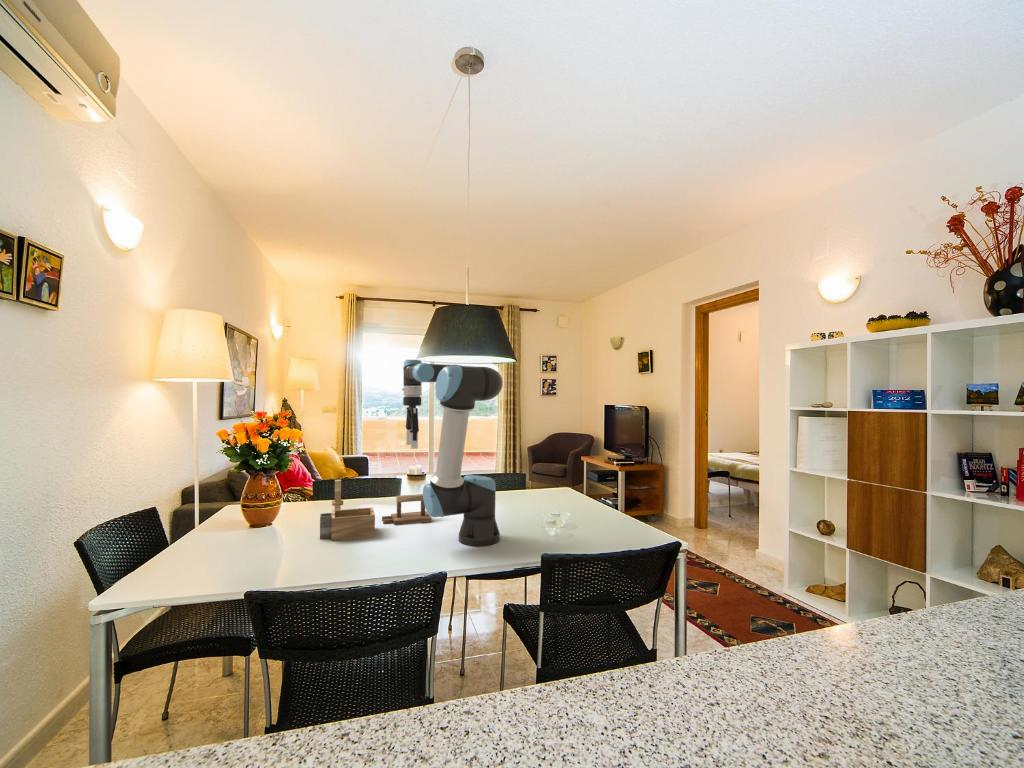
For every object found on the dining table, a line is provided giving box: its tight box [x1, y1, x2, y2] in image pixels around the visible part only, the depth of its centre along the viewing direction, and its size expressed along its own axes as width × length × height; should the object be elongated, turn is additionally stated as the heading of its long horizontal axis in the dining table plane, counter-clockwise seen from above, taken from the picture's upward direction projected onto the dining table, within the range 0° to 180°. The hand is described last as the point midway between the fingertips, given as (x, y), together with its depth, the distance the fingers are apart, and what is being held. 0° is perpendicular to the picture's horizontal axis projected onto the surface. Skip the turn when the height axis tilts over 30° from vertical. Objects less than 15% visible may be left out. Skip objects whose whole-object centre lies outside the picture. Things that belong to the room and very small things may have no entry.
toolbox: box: [319, 506, 376, 542], centre depth 176 cm, size 12×19×8 cm, turn 110°
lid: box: [381, 493, 432, 526], centre depth 196 cm, size 12×19×10 cm, turn 110°
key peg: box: [331, 479, 344, 510], centre depth 196 cm, size 4×4×16 cm
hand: (411, 446), depth 197 cm, fingers open, 13 cm apart
